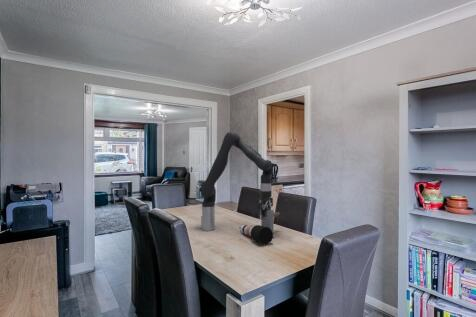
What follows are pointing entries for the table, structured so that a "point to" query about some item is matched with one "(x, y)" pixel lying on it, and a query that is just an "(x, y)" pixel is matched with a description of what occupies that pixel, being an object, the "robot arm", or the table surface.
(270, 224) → the clamp post
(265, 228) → the telephoto camera lens
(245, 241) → the table surface
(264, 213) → the hold down bar
